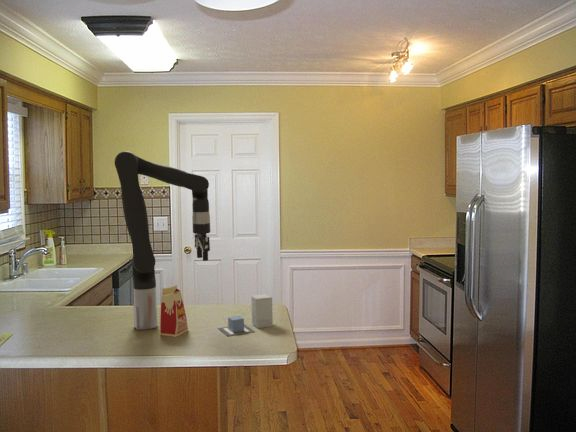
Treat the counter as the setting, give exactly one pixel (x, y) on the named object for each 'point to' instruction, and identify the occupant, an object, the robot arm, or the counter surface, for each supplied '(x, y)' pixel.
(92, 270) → the counter surface
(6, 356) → the counter surface
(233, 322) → the slate blue cube
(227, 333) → the letter mat
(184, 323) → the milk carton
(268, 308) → the supplement box
